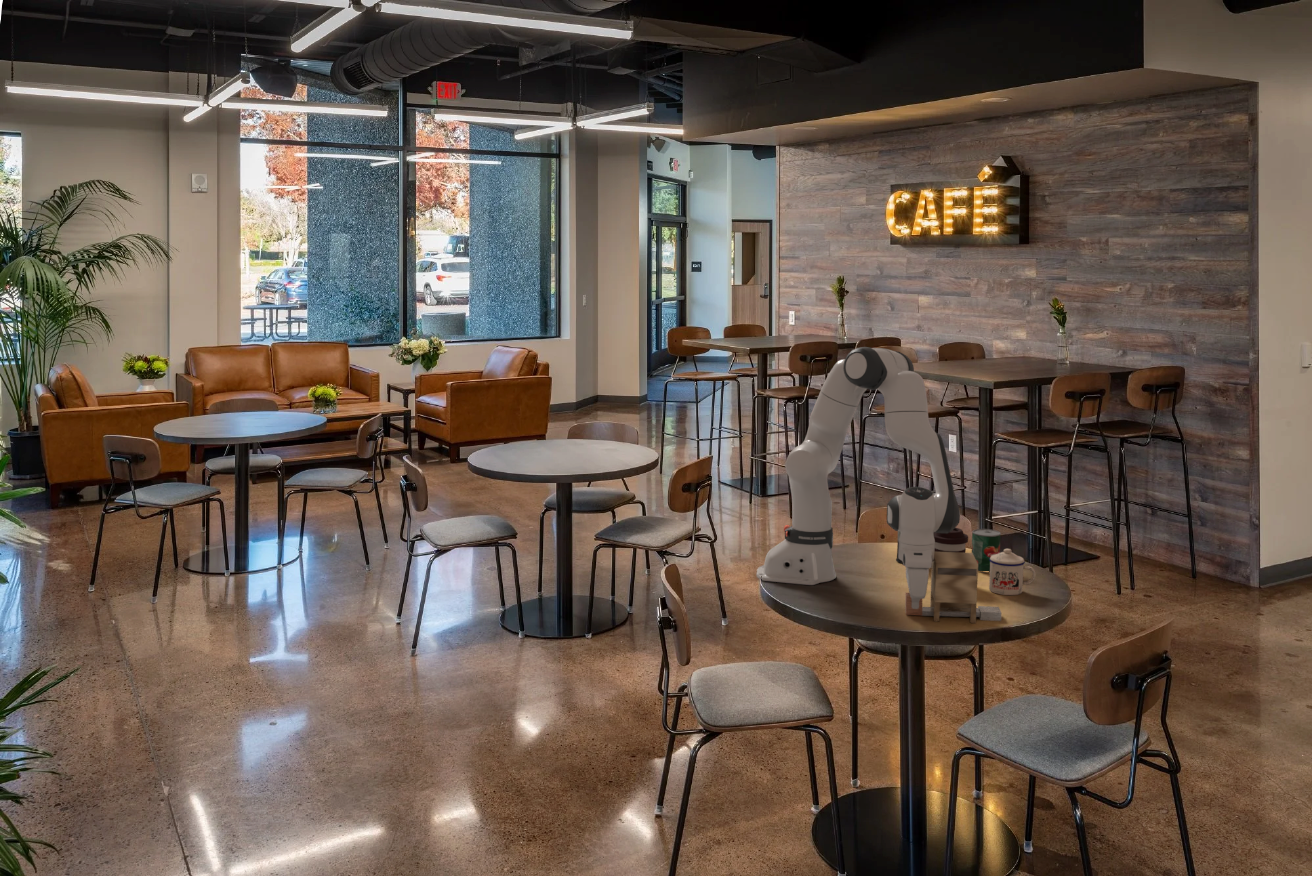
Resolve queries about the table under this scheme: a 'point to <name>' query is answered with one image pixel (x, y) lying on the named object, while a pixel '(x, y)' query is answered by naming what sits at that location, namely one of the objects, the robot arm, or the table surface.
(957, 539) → the coffee cup
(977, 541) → the canned tomato
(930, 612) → the blade tool
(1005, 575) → the teacup with lid
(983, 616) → the block
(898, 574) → the table surface
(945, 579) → the cabinet
